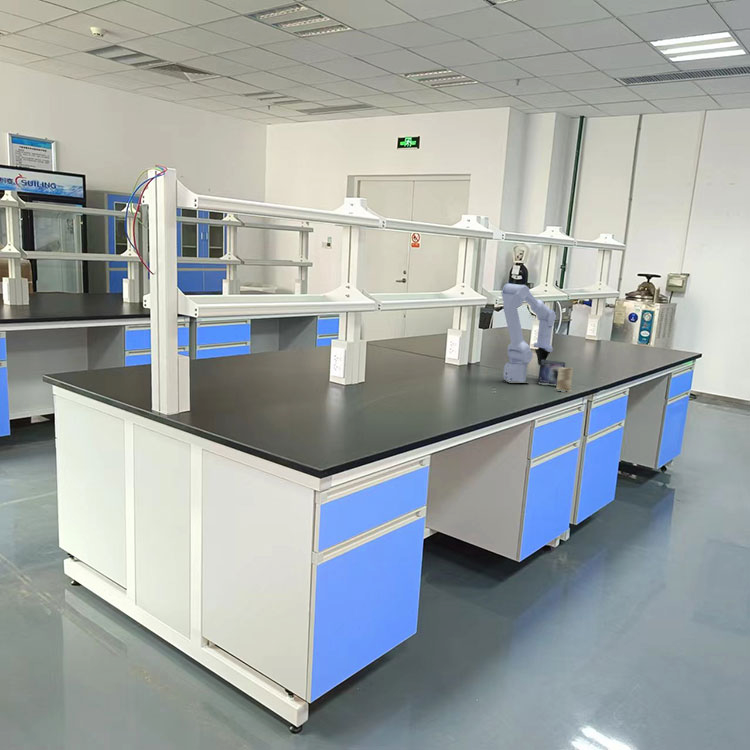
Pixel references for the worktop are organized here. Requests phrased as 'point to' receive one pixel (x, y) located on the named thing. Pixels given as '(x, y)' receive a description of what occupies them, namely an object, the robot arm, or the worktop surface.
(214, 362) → the worktop surface
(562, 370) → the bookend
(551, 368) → the small box
